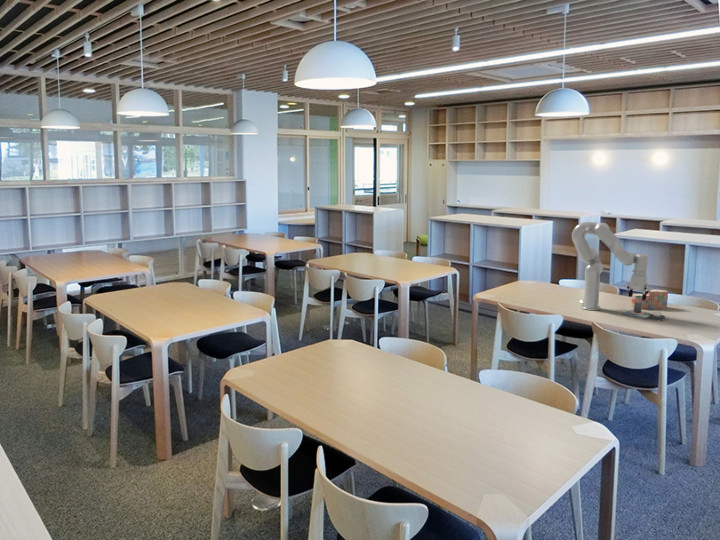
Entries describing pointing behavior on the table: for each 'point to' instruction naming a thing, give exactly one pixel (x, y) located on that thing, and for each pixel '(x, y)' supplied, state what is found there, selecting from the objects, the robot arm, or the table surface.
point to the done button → (657, 314)
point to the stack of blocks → (653, 299)
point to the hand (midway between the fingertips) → (637, 298)
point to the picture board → (637, 314)
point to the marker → (637, 305)
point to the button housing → (656, 317)
